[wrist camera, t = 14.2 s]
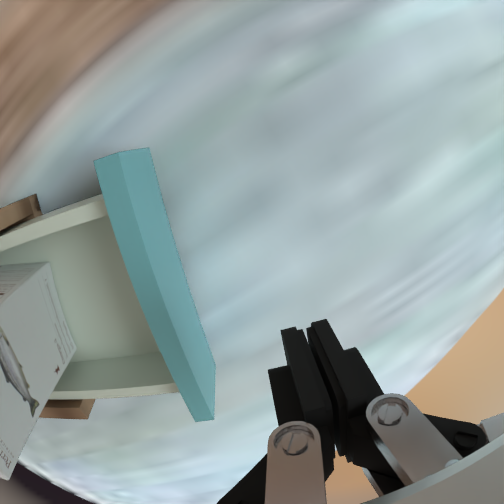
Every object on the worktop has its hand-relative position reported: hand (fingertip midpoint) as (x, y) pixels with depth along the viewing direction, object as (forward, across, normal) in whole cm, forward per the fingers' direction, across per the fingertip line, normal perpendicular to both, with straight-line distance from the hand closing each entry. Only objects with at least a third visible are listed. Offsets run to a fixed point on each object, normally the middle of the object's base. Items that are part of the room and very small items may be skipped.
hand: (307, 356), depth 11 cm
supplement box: (+9, +18, -1) cm, 20 cm away
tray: (+10, +15, -1) cm, 18 cm away
